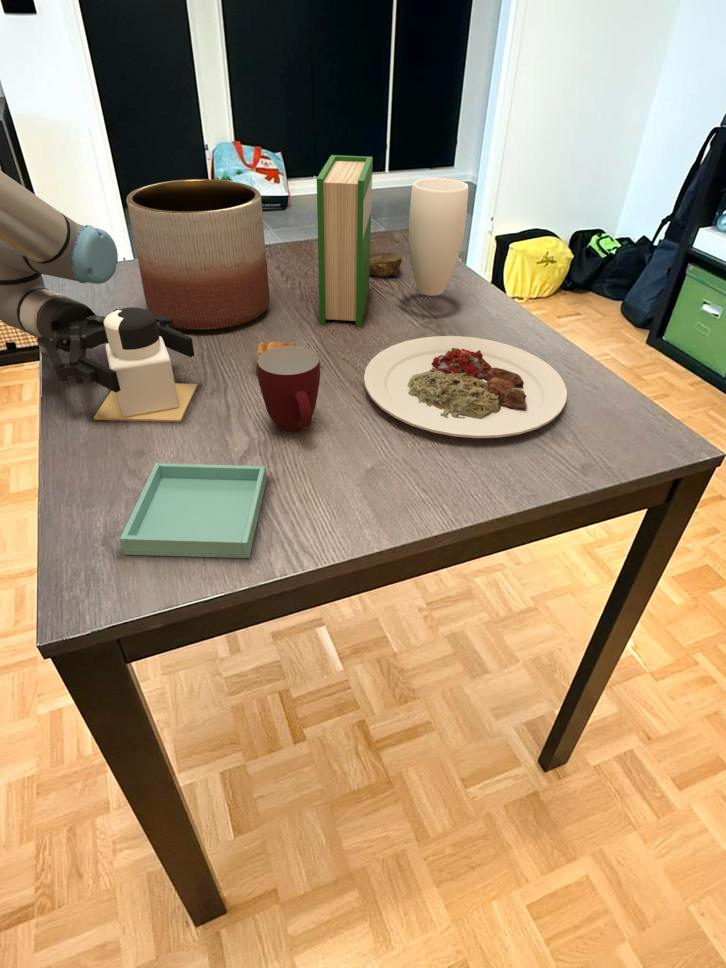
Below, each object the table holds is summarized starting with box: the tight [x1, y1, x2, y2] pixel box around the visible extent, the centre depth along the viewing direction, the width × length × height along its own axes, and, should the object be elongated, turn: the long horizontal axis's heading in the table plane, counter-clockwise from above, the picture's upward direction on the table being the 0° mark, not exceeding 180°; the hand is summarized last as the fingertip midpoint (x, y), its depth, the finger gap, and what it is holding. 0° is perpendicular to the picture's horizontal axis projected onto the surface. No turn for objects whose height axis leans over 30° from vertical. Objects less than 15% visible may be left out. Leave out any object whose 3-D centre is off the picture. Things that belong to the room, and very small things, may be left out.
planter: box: [126, 178, 270, 332], centre depth 109 cm, size 22×22×20 cm
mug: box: [256, 345, 321, 434], centre depth 82 cm, size 11×8×10 cm
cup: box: [408, 177, 469, 297], centre depth 112 cm, size 10×10×22 cm
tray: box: [119, 462, 268, 559], centre depth 70 cm, size 13×13×2 cm
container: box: [104, 307, 179, 417], centre depth 85 cm, size 8×8×13 cm
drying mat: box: [93, 383, 198, 423], centre depth 89 cm, size 12×10×1 cm
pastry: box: [255, 340, 297, 369], centre depth 97 cm, size 9×7×4 cm
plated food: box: [363, 335, 568, 439], centre depth 93 cm, size 30×30×3 cm
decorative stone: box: [369, 252, 403, 279], centre depth 133 cm, size 10×9×4 cm
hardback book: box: [316, 154, 374, 327], centre depth 111 cm, size 18×7×24 cm, turn 175°
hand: (155, 364), depth 83 cm, fingers open, 12 cm apart
